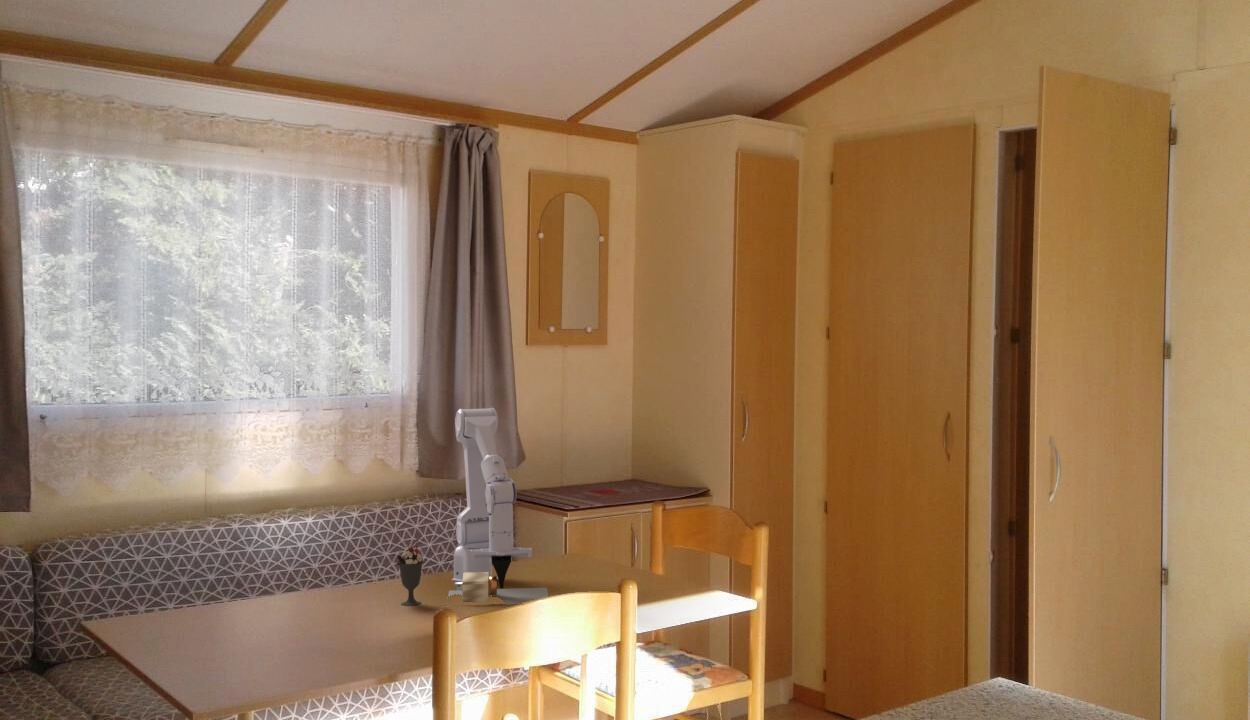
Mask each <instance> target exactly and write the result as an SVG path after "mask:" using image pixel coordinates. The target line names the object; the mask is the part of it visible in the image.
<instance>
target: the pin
mask: <svg viewBox="0 0 1250 720" xmlns="http://www.w3.org/2000/svg"><path fill="white" fill-rule="evenodd" d="M497 577H498V576H497V575H492V576H488V595H497V589H498V583H497V582H498V580H497ZM453 588H454V589H453V590H455V591H462V582H458V581H454V587H453Z"/></svg>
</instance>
